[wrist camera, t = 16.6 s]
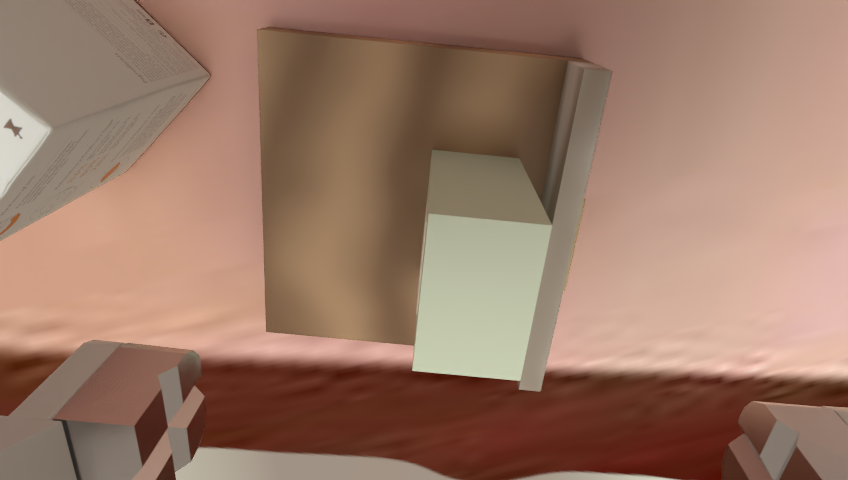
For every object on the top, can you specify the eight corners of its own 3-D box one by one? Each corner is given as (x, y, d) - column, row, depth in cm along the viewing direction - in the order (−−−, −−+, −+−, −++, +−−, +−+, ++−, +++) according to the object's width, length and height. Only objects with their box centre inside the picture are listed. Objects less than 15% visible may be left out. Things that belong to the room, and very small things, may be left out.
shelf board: (588, 59, 28) (619, 72, 23) (531, 337, 35) (545, 391, 30) (269, 27, 28) (233, 33, 23) (275, 314, 35) (249, 364, 30)
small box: (113, -24, 27) (-144, -39, 15) (214, 75, 29) (56, 131, 17) (27, 90, 29) (-254, 154, 17) (125, 174, 31) (-68, 285, 19)
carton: (520, 158, 28) (553, 225, 20) (499, 278, 31) (521, 380, 23) (431, 149, 28) (427, 213, 20) (418, 270, 31) (410, 370, 23)
